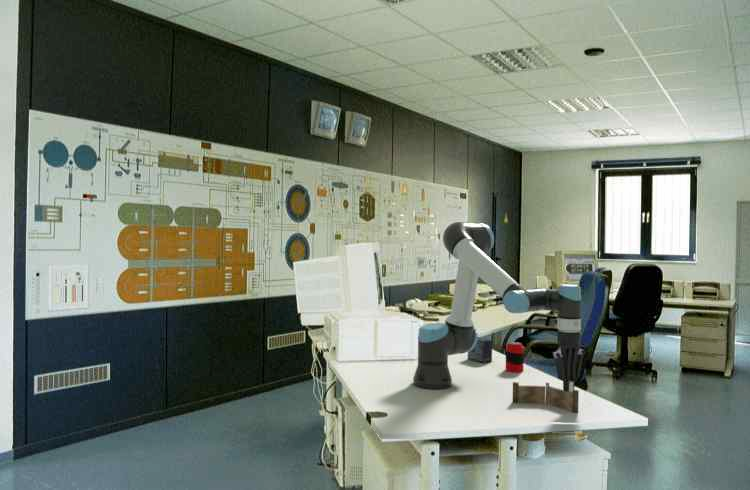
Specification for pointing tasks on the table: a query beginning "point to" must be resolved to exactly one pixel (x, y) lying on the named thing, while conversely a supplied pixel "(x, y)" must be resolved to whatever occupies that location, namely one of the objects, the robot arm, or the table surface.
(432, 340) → the robot arm
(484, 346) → the small box
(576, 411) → the fence gate
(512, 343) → the soda can
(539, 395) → the fence fixed
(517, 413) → the table surface
